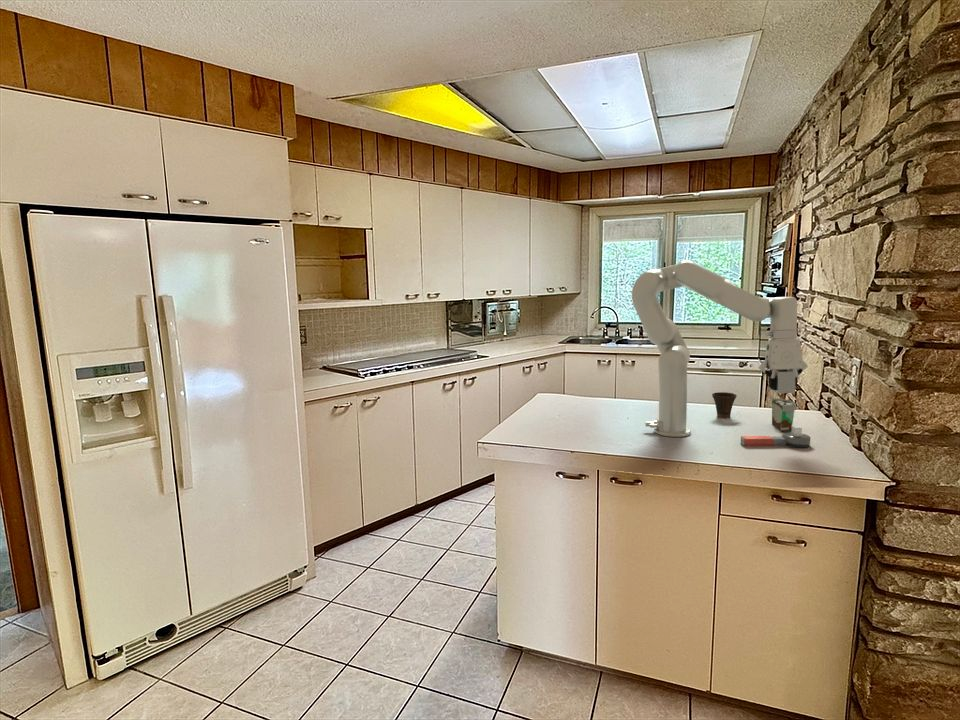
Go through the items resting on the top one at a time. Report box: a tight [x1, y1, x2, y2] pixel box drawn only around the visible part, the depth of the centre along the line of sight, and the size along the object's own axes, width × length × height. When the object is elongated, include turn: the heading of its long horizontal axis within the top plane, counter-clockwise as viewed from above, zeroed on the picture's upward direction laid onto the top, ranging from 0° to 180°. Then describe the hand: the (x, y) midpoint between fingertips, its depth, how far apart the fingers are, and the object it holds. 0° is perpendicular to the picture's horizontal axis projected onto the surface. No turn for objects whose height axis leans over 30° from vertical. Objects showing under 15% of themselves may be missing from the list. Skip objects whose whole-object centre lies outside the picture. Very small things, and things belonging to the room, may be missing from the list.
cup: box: [711, 391, 737, 419], centre depth 212 cm, size 9×9×10 cm
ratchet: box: [740, 425, 811, 450], centre depth 177 cm, size 21×8×6 cm, turn 84°
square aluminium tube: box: [769, 370, 796, 394], centre depth 177 cm, size 5×5×7 cm
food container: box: [771, 398, 797, 433], centre depth 194 cm, size 12×6×10 cm, turn 168°
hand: (782, 388), depth 177 cm, fingers closed on square aluminium tube, 5 cm apart
